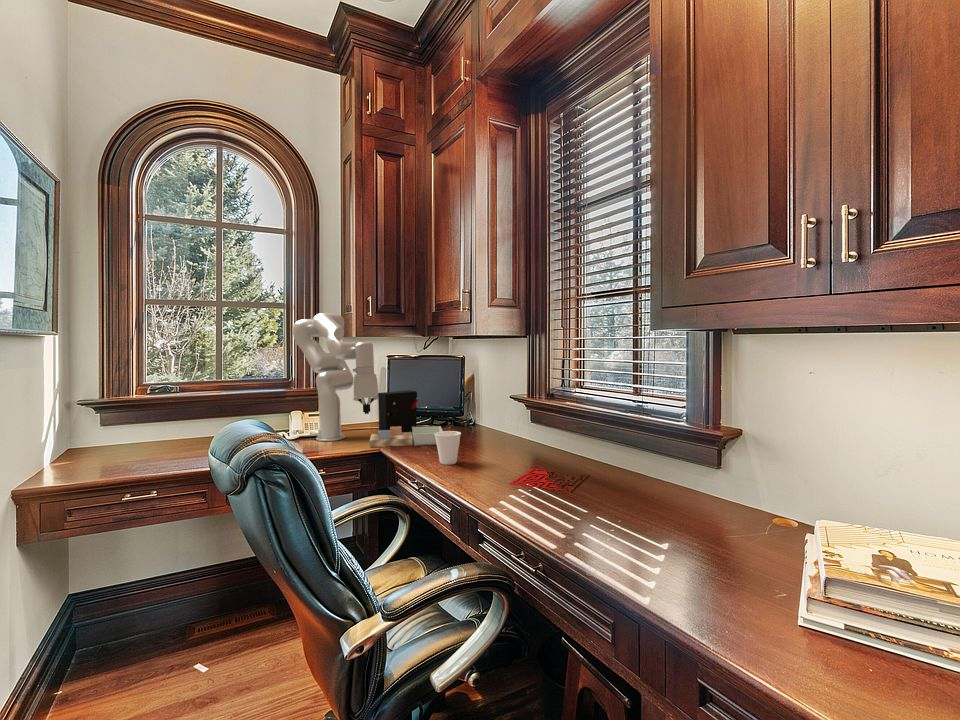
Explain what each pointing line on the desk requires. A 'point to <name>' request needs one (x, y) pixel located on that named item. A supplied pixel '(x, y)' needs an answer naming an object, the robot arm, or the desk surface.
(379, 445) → the board
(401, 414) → the electrical component
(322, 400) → the robot arm
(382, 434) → the tile slate
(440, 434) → the cup
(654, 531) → the desk surface
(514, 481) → the maze puzzle
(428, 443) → the tray
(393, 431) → the tile terracotta
